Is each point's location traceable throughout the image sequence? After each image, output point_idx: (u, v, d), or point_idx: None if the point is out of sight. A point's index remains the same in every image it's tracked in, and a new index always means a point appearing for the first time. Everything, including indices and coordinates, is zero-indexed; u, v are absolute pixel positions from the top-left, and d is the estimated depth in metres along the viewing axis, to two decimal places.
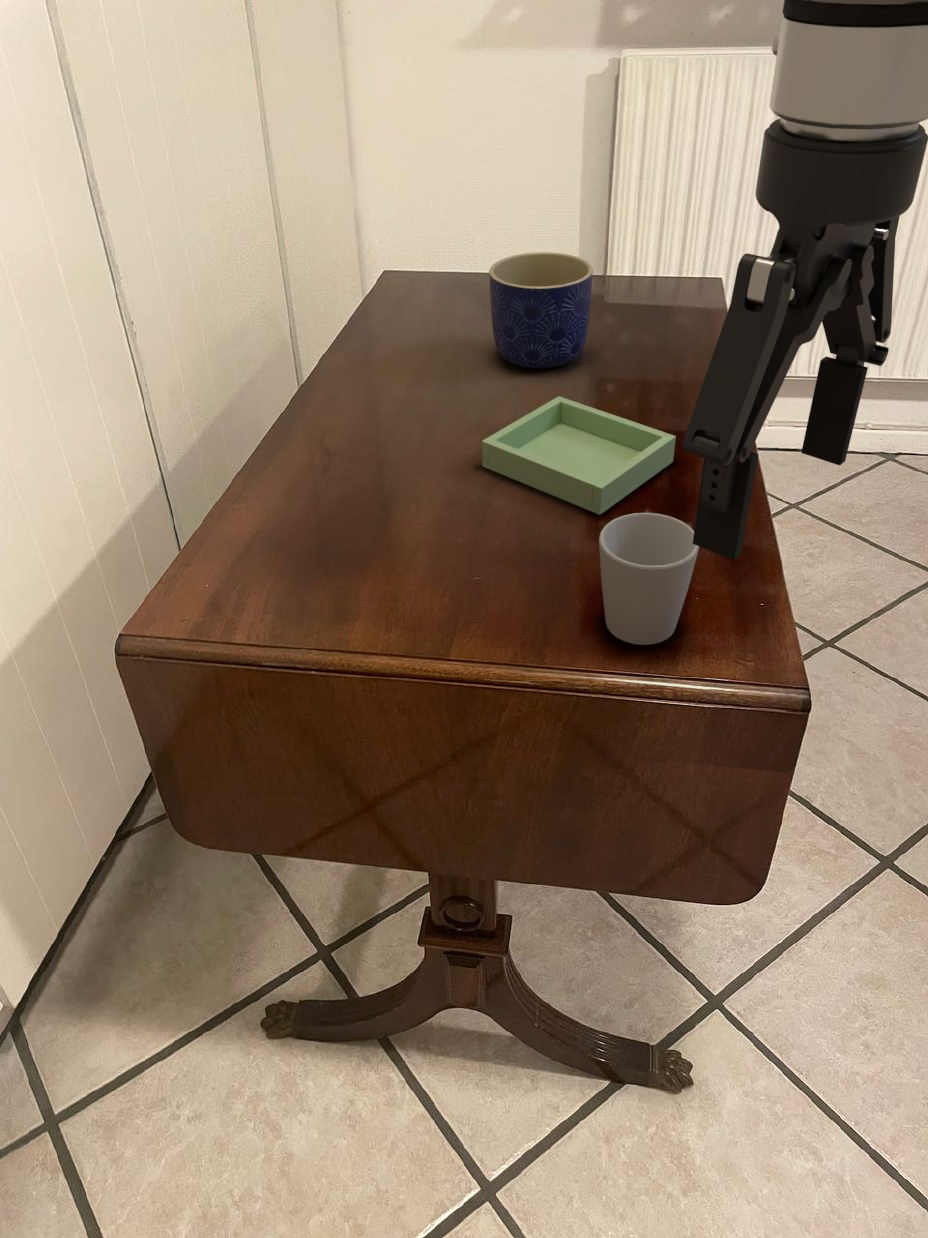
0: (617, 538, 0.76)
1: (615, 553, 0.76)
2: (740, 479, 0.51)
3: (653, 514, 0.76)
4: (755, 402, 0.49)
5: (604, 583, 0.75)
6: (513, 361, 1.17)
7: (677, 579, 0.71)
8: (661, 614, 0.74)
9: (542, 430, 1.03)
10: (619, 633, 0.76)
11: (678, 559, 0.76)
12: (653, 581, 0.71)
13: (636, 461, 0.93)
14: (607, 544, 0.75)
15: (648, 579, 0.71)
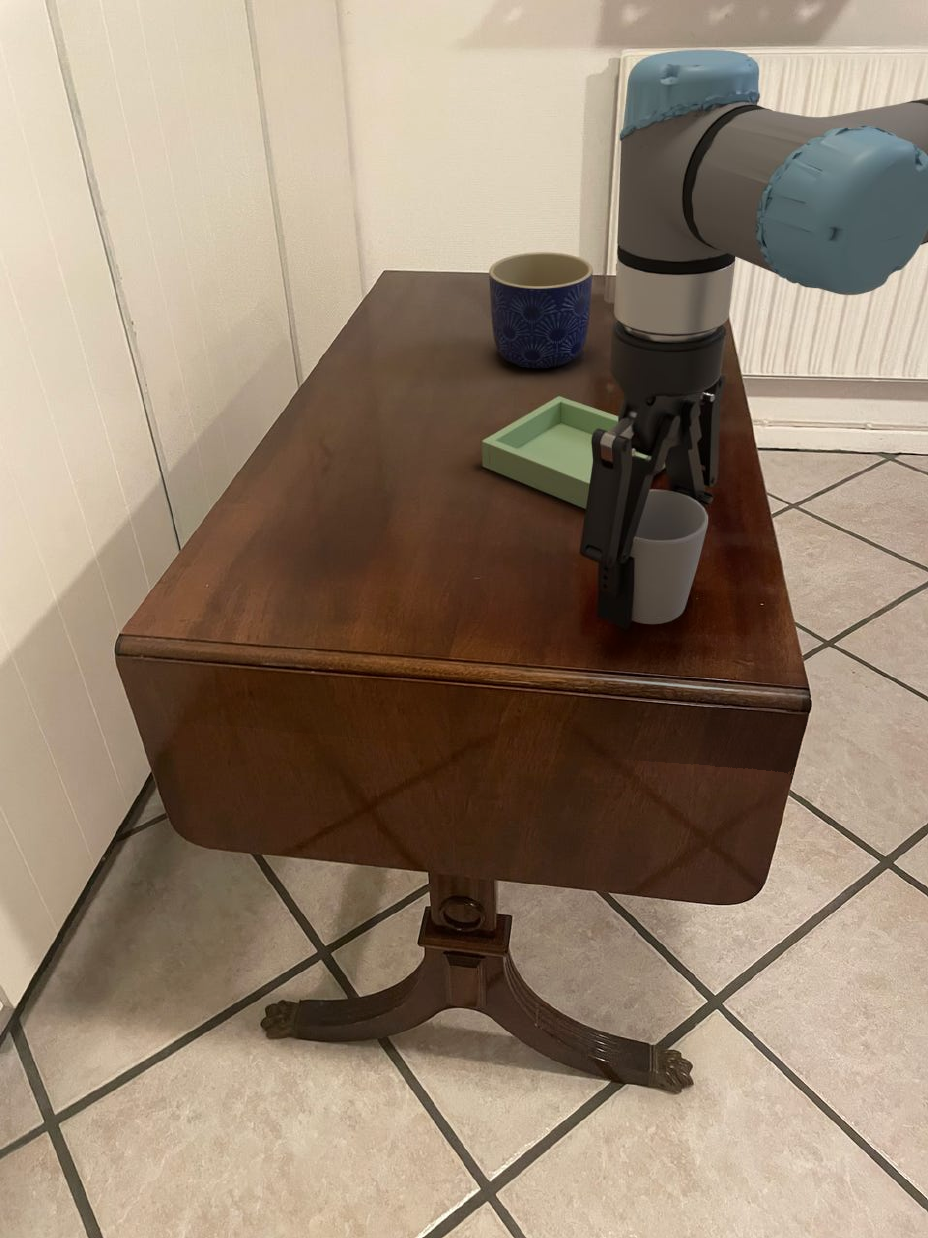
0: None
1: None
2: (624, 573, 0.71)
3: (660, 490, 0.74)
4: (626, 523, 0.68)
5: None
6: (513, 361, 1.17)
7: (687, 554, 0.70)
8: (671, 591, 0.72)
9: (542, 430, 1.03)
10: None
11: (687, 536, 0.74)
12: (662, 556, 0.69)
13: None
14: None
15: (657, 554, 0.69)
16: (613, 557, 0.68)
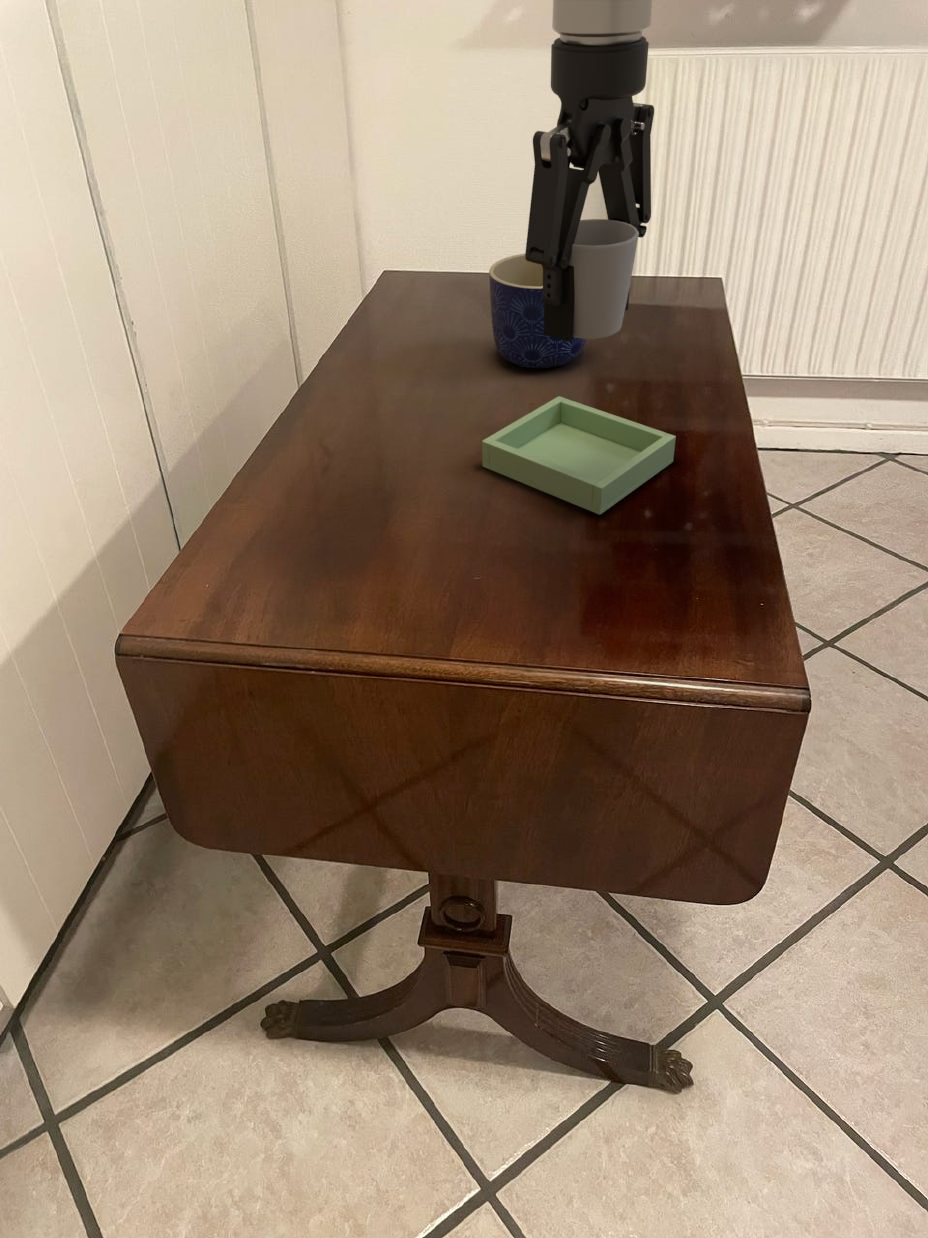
0: None
1: None
2: (565, 282, 0.81)
3: (599, 219, 0.84)
4: (565, 229, 0.79)
5: None
6: (513, 361, 1.17)
7: (619, 261, 0.80)
8: (606, 301, 0.82)
9: (542, 430, 1.03)
10: None
11: None
12: (597, 262, 0.80)
13: (636, 461, 0.93)
14: None
15: (593, 260, 0.80)
16: (553, 256, 0.78)
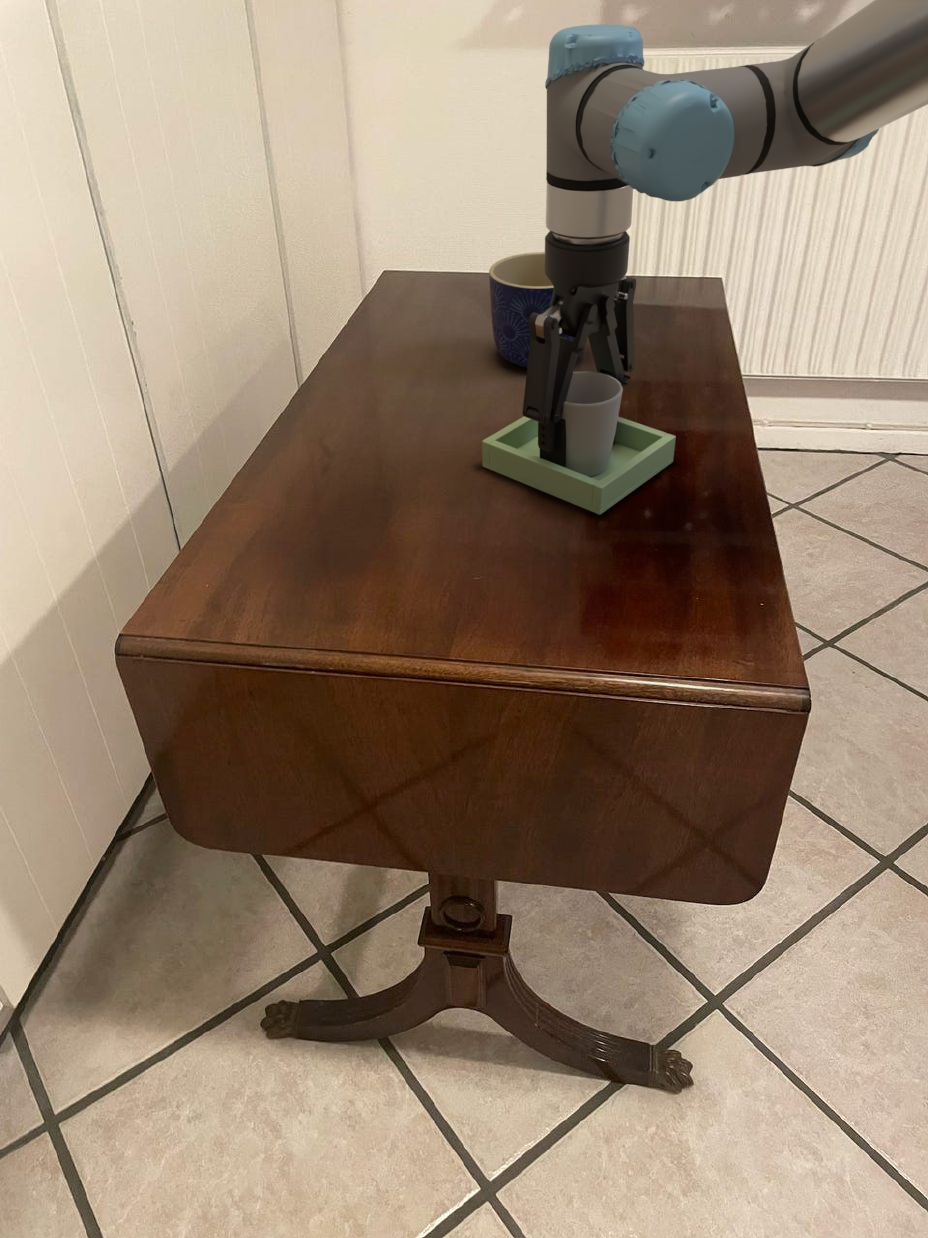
0: None
1: None
2: (558, 432, 0.92)
3: (588, 372, 0.95)
4: (557, 390, 0.89)
5: None
6: (513, 361, 1.17)
7: (605, 416, 0.91)
8: (594, 447, 0.93)
9: None
10: None
11: None
12: (586, 417, 0.91)
13: (636, 461, 0.93)
14: None
15: (582, 415, 0.90)
16: (547, 415, 0.89)
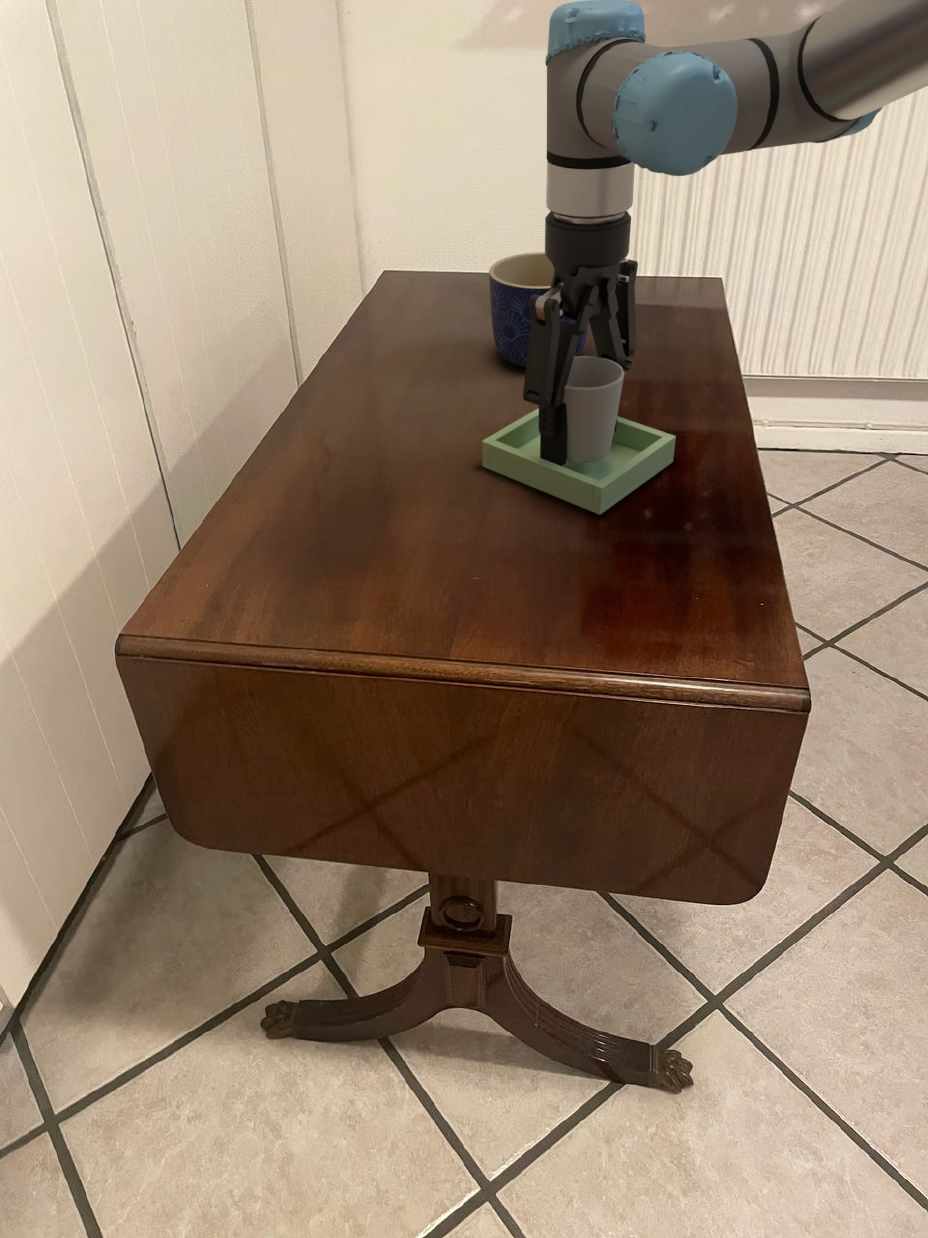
0: None
1: None
2: (559, 417, 0.91)
3: (589, 356, 0.94)
4: (558, 373, 0.88)
5: None
6: (513, 361, 1.17)
7: (606, 400, 0.90)
8: (595, 433, 0.92)
9: None
10: None
11: None
12: (587, 401, 0.89)
13: (636, 461, 0.93)
14: None
15: (583, 399, 0.89)
16: (548, 399, 0.88)
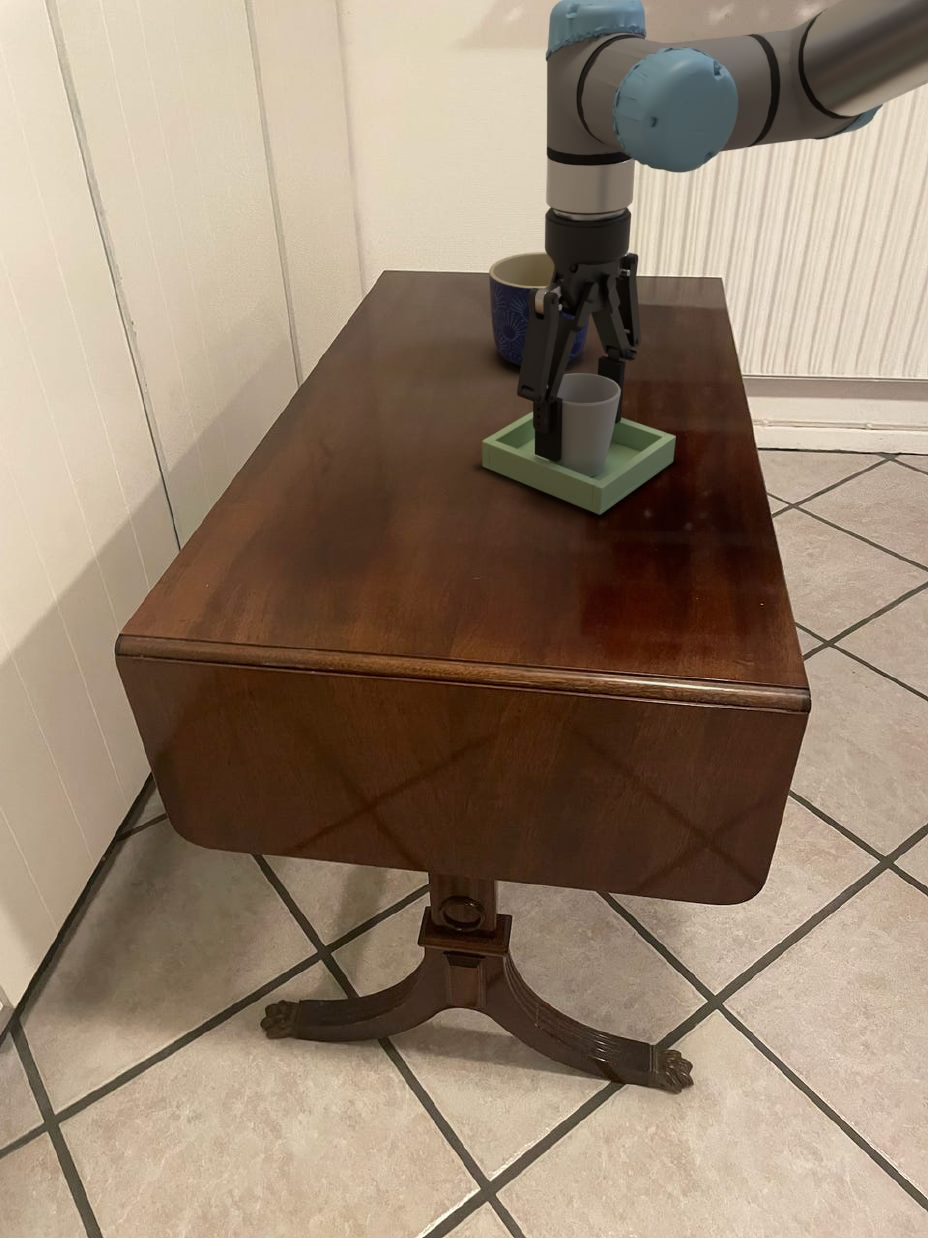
0: None
1: None
2: (553, 413, 0.90)
3: (585, 374, 0.95)
4: (554, 369, 0.88)
5: None
6: (513, 361, 1.17)
7: (603, 416, 0.91)
8: (591, 448, 0.93)
9: None
10: None
11: None
12: (584, 417, 0.90)
13: (636, 461, 0.93)
14: None
15: (580, 415, 0.90)
16: (542, 395, 0.87)
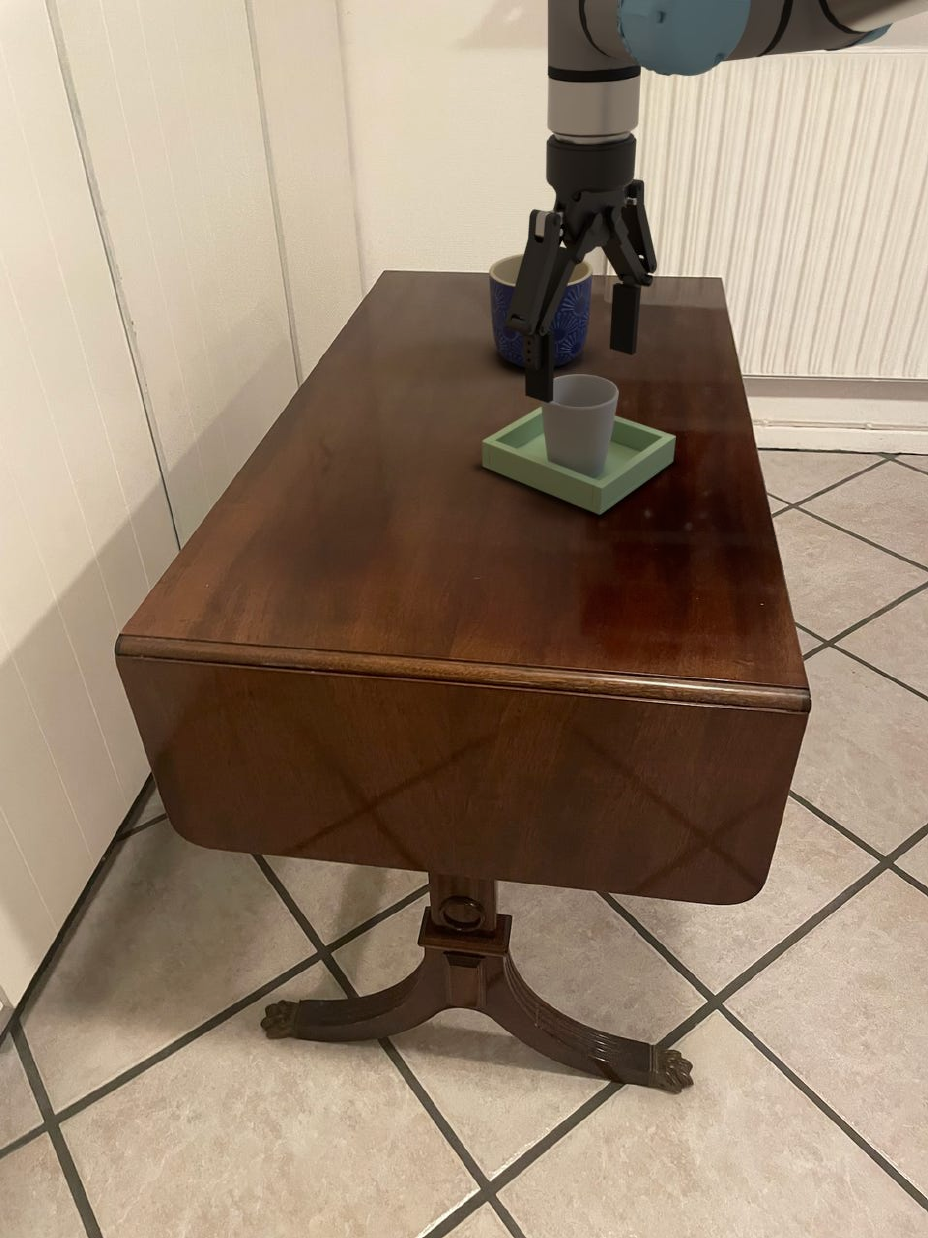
0: (555, 394, 0.95)
1: None
2: (545, 348, 0.85)
3: (583, 375, 0.95)
4: (548, 298, 0.82)
5: (545, 429, 0.94)
6: (513, 361, 1.17)
7: (601, 419, 0.91)
8: (590, 451, 0.93)
9: (542, 430, 1.03)
10: None
11: None
12: (582, 420, 0.90)
13: (636, 461, 0.93)
14: None
15: (578, 419, 0.90)
16: (532, 325, 0.81)
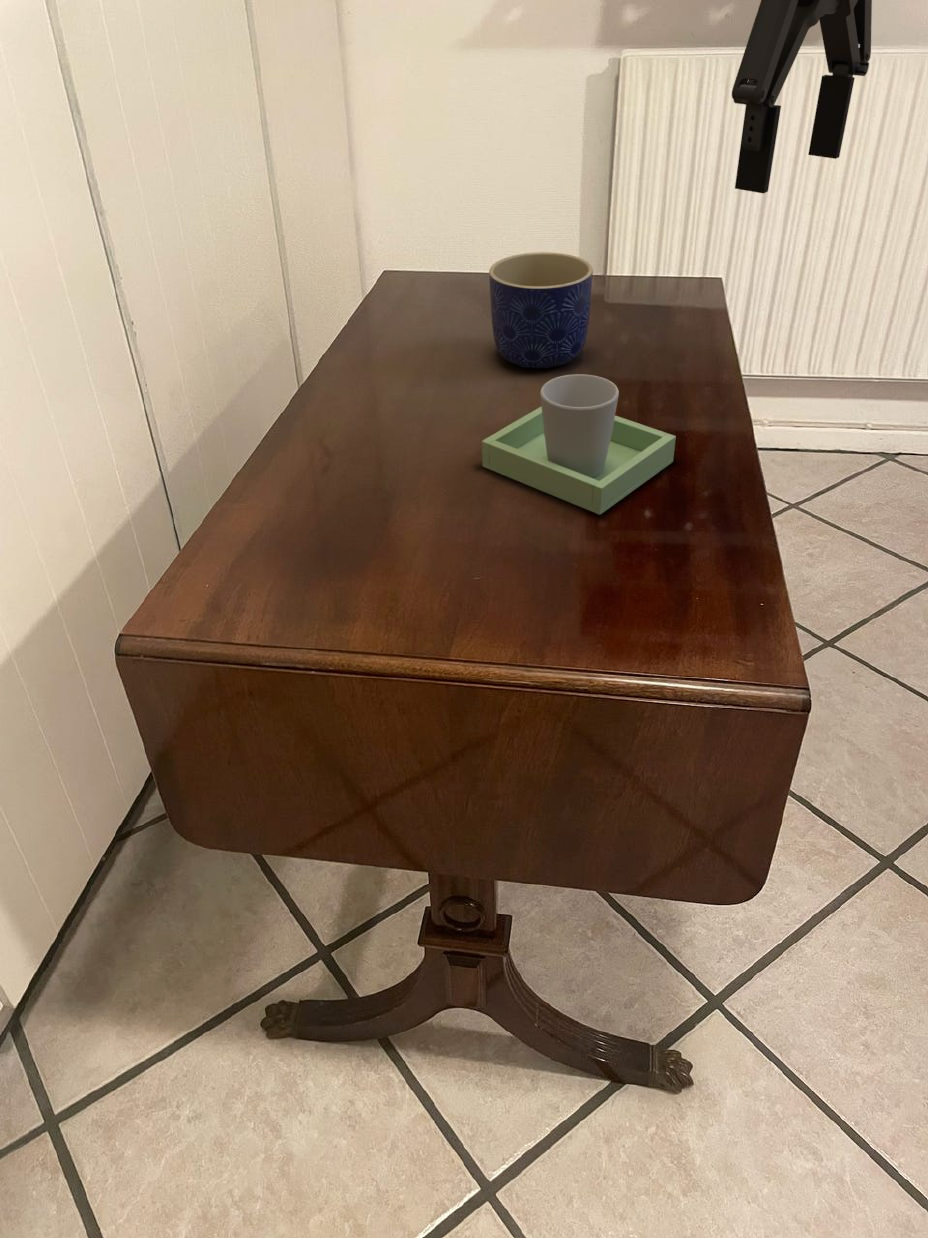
0: (555, 394, 0.95)
1: None
2: (769, 125, 0.77)
3: (583, 375, 0.95)
4: (779, 64, 0.75)
5: (545, 429, 0.94)
6: (513, 361, 1.17)
7: (601, 419, 0.91)
8: (590, 451, 0.93)
9: (542, 430, 1.03)
10: None
11: None
12: (582, 420, 0.90)
13: (636, 461, 0.93)
14: (547, 398, 0.94)
15: (578, 419, 0.90)
16: (765, 90, 0.74)
